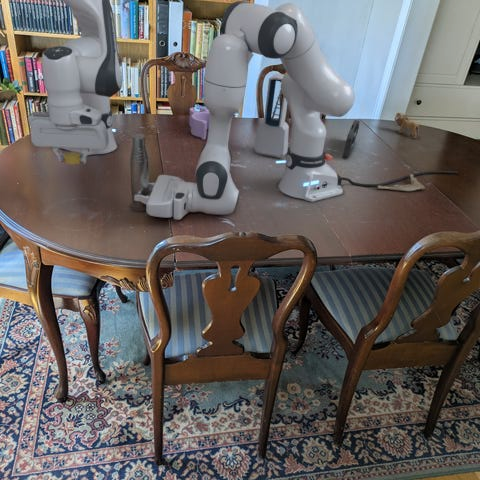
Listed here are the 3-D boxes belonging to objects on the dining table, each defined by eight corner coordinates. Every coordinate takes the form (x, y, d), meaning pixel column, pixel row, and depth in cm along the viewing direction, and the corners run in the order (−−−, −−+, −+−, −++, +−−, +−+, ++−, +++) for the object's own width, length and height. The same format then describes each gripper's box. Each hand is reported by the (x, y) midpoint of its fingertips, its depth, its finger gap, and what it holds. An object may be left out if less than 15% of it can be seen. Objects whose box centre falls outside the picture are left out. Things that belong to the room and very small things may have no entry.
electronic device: (287, 153, 187) (299, 77, 171) (282, 160, 181) (294, 81, 165) (257, 147, 190) (266, 71, 174) (252, 153, 184) (260, 75, 167)
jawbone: (429, 189, 172) (431, 184, 171) (394, 201, 161) (396, 196, 160) (410, 177, 177) (412, 172, 176) (375, 189, 167) (376, 184, 165)
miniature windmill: (286, 130, 210) (297, 60, 194) (268, 127, 211) (277, 58, 195) (288, 124, 218) (299, 56, 202) (271, 121, 219) (279, 54, 203)
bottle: (148, 202, 143) (146, 132, 131) (149, 210, 139) (148, 139, 127) (131, 203, 142) (128, 132, 130) (132, 211, 138) (130, 139, 126)
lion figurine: (389, 131, 223) (394, 112, 218) (394, 128, 227) (399, 110, 222) (418, 140, 216) (424, 121, 211) (422, 137, 219) (428, 119, 214)
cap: (66, 158, 133) (65, 151, 132) (83, 158, 133) (82, 151, 132) (62, 164, 129) (61, 157, 128) (79, 164, 129) (78, 157, 128)
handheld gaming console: (349, 160, 187) (354, 136, 182) (342, 158, 188) (347, 134, 183) (355, 142, 206) (361, 119, 201) (349, 140, 207) (354, 118, 201)
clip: (182, 123, 206) (183, 107, 202) (209, 122, 210) (210, 106, 207) (197, 140, 191) (197, 123, 187) (225, 138, 195) (226, 122, 191)
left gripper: (22, 114, 121) (31, 164, 128) (101, 119, 122) (106, 168, 129) (31, 107, 126) (40, 155, 134) (107, 111, 127) (112, 159, 134)
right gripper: (188, 172, 145) (144, 167, 145) (178, 203, 128) (128, 198, 128) (188, 190, 149) (144, 185, 148) (178, 222, 131) (129, 218, 131)
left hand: (73, 161), depth 131 cm, fingers closed on cap, 4 cm apart
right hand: (137, 191), depth 138 cm, fingers closed on bottle, 5 cm apart
